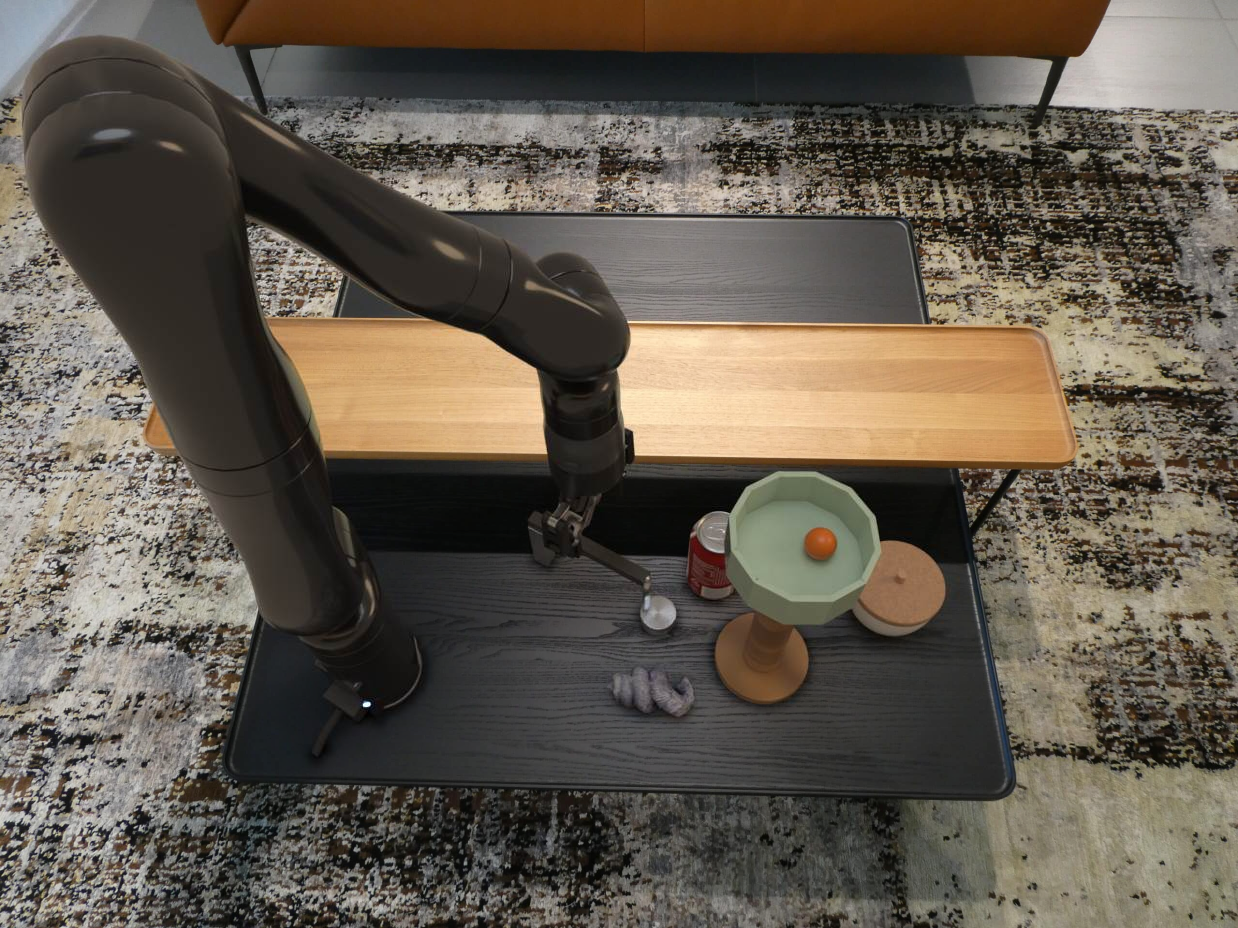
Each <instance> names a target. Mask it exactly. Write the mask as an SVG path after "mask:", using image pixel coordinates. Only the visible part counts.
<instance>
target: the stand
mask: <svg viewBox="0 0 1238 928" xmlns="http://www.w3.org/2000/svg"><path fill="white" fill-rule="evenodd" d="M809 662H810V661H809V652H808V648H807V645H806V642H805V640H804V639H803V637H802V635H801V634H800V633H799V631H798V630H797V628H795V625H788V624H781V623H779V622H777V621H775V620H773V619H772V618H770V617H768V616H766V615H764V614H762V613H760V612H758V611H756V610H754V612H748V613H744V614H741V615H739V616H737V617H734V618H733V619H732V620H730V621H729V622H728V623H727V624H725V626H724V627H723V628H722V630H721V631H720V633H719V634H718V637H717V640H716V643H715V649H714V665H715V668H716V669H715V670H716V671H717V674H718V677H719V678H720V680H721V682H722V683H723V684H724V686H725V687H726V688H727V689H728V690H729V691H730V692H731V693H732V694H733V695H735V696H736V697H738V698H740V699H742V700H743V701H746V702H749V703H753V704H756V705H772V704H777V703H780V702H783V701H785V700H787V699H789V698H790V697H791V696H793V695H794V694H795V693H796V692H797V691H798V690H799V689H800V687H801V686H802V684H803V682H804V680H805V678H806V676H807V674H808V669H809Z"/></svg>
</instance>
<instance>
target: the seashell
mask: <svg viewBox="0 0 1238 928" xmlns="http://www.w3.org/2000/svg"><path fill="white" fill-rule="evenodd" d="M668 675H669V674H668V673H667V671H666V669H665V668H663V667H660V666H654V667H651V668H649V670H648V668H647V667H646V666H644V665H641V664H638V665H635V666H633V667H631V670H630V671H628V672H627V673H625V672H616V673H614V675H613V676H612V681H611V682H610V683H609V684H607V689H609V690H610V692H612V695H613V698H614V699H615V700H616V701H617V702H620V703H621V704H622V705H623V707H626V708H628V709H629V708H637V710H638V711H640V712H641V713H644V714H649V713H652V712H653V711H655V710H656V709H657V708H659V709H662V710H663V711H664V712H666V713H667V714H669V715H671V716H673V717H676V718H679V717H682V716H683V715H684V714H686V713H687V712H689V710H690V709H691V707H692V706H694V701H695V696H694V689H693V685H692V683H691V682H690V680H689V678H688V677H687V676H683V677H681V679H680V680H679V683H678V684H677V685H675V687H674V688H673V686H672V685H671V682H670V681H669V676H668Z"/></svg>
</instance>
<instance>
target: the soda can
mask: <svg viewBox="0 0 1238 928" xmlns="http://www.w3.org/2000/svg"><path fill="white" fill-rule="evenodd" d="M730 513H731V512H730ZM730 513H729V512H726V511H720V510H718V511H711V512H709V513H707V514H705V515H704V516H702V517H701V518H700V519H699V520H698V521H697V522H696V523H695V524H694V526H693V527H692V529H691V532H690V534H689V535H690V536H689V545H688V552H687V560H686V561H687V562H686V568H685V569H686V571H685V576H686V577H685V578H686V582H687V584H688V586H689V588H690V589H691V590H692V592H693V593H694V594H696V595H697V596H699V597H701V598H703V599H705V600H712V601H717V600H722V599H725V598H728V597H729V596H731V595H732V594H733V593H734V592H735V591H737V590H736V589H735V587H734V586H733V585H732V583H731V582H730V580H729V579H728V577H727V576H726V568H725V551H724V539H725V534H726V528H727V523H728V518H729V515H730Z"/></svg>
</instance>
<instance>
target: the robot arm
mask: <svg viewBox="0 0 1238 928" xmlns="http://www.w3.org/2000/svg"><path fill="white" fill-rule="evenodd" d="M24 78H25V79H24V82H23V86H22V93H21V128H22V146H23V147H22V148H23V160H24V161H23V162H24V172H25V180H26V186H27V192H28V196H29V199H30V202H31V204H32V206H33V209H34V211H35V213H36V215H37V217H38V219H39V221H40V223H41V226H42V227H43V229H44V231H45V232H46V234H47V236H48V237H49V239H50V240H51V242H52V243H53V244H54V246H55V247H56V249H57V250H58V252H59V253H60V254H61V256H62V257H63V259H64V261H66V263H67V264H68V265H69V267H70V268H71V270H72V271H73V272H74V274H75V275H76V276H77V277H78V279H79V280H80V282H81V284H83V285H84V287H85V289H87V291H88V292H89V294H90V295H91V296H92V297H93V299H94V300H95V302H96V303H97V304H98V306H99V307H100V309H101V310H102V311H103V313H104V314H105V315H106V317H107V318H108V319H109V321H110V322H111V324H112V325H113V327H115V329H116V330H117V332H118V333H119V334H120V336H121V338H122V339H123V341H124V342H125V344H126V345H127V347H128V349H129V350H130V352H131V353H132V355H133V357H134V359H135V361H136V363H137V365H138V367H139V370H140V373H141V377H142V379H143V382H144V385H145V387H146V390H147V393H148V394H149V396H150V399H151V402H152V403H153V405H154V408H155V410H156V412H157V413H158V414H157V415H158V416H159V418H160V421H161V423H162V425H163V426H164V429H165V431H166V433H167V435H168V438H169V440H170V442H171V444H172V446H173V447H174V449H175V451H176V453H177V454H178V456H179V458H180V461H181V462H182V463H183V465H184V467H185V469H186V471H187V473H188V474H189V476H190V478H191V479H192V481H193V482H194V483H195V486H196V487H197V488H198V490H199V491H200V493H201V494H202V496H203V498H204V500H205V502H206V503H207V505H208V507H209V508H210V510H211V512H212V513H213V516H214V517H215V519H216V520H217V521H218V524H219V525H220V527H221V528H222V530H223V531H224V533H225V534H226V536H227V538H228V539H229V540H230V542H231V543H232V545H233V546H234V548H235V550H236V552H237V553H238V554H239V556H240V558H241V560H242V562H243V565H244V566H245V569H246V571H247V574H248V577H249V580H250V583H251V586H252V589H253V592H254V597H255V602H256V606H257V610H258V612H259V614H260V616H261V618H262V619H263V620H264V621H265V623H266V624H268V625H269V626H270V627H272V628H273V629H275V630H277V631H278V632H281V633H284V634H286V635H290V636H295V637H297V638H298V639H299V641H301V643H302V644H303V645H304V646H305V647H306V648H307V650H309V651H310V653H311V654H312V655H313V656H314V657H315V658H316V660H315V662H314V666H315V667H316V668H317V669H318V670H319V671H320V672H321V674H322V675H323V676H324V677H325V678H326V679H327V680H328V681H329V682H330V683H331V685H330V686H329V687H328V689H327V690H326V691H325V693H323V695H322V697H323V698H324V700H325V701H326V702H327V703H328V704H330V705H331V706H332V707H334V708H335V710H334V711H333V713H332V714H331V716H330V717H329V719H328V720H327V722H326V723H325V724H324V726H323V728H322V730H321V731H320V733H319V734H318V737H317V738H316V741H315V743H314V746H313V748H312V750H311V752H310V753H312V754H313V755H314V756H315V757H317V758H319V757H320V755H321V753H322V751H323V748H324V746H325V744H326V742H327V740H328V738H329V736H330V735H331V733H332V731H333V730H334V728H335V727H336V725H337V724H338V722H339V721H340V719H341V718H342V716H343V715H344V714H345V715H346V716H347V717H349V718H351V719H352V720H353V721H354V722H355V721H356V722H357V723H360V722H361V721H362V719H363V718H364V717H365V716H366V714H367V713H370V714H371V715H373V716H374V717H376V718H380V717H381V716H382V715H383V714H384V712H385V711H388V710H391V709H393V708H396V707H398V706H400V705H402V704H403V703H404V702H406V701H407V700H408V699H409V698H410V697H411V696H412V695H413V694H414V693H415V691H416V690H417V688H418V687H419V686H420V683H421V680H422V677H423V672H424V662H423V657H422V654H421V652H420V650H419V648H418V643H417V639H416V637H415V636H413V639H412V638H411V637H410V634H409V633H408V631H407V630H406V628H405V626H404V624H403V623H402V620H401V619H400V617H399V616H398V614H397V612H396V611H395V609H394V607H393V604H391V602H390V599H388V597H387V595H386V593H385V592H384V590H383V588H382V586H381V582H380V579H379V578H378V575H377V571H376V569H375V565H374V563H373V560H372V558H371V556H370V554H369V552H368V551H367V549H366V547H365V545H364V542H363V541H362V539H361V537H360V535H359V532H358V531H357V529H356V527H355V526H354V524H353V523H352V521H351V520H350V518H349V516H347V515H346V514H345V513H344V512H343V511H342V510H340V509H339V508H337V507H336V506H333V501H332V500H333V499H332V493H331V485H330V478H329V472H328V466H327V462H326V455H325V451H324V446H323V441H322V436H321V432H320V428H319V425H318V421H317V418H316V414H315V413H314V409H313V405H312V403H311V399H310V396H309V393H308V391H307V389H306V386H305V383H304V381H303V379H302V377H301V374H300V373H299V371H298V369H297V367H296V365H295V363H294V362H293V360H292V358H291V357H290V355H289V354H288V353H287V351H286V350H285V348H284V347H283V346H282V345H281V344H280V342H279V341H278V340H277V338H276V337H275V336H274V334H273V332H272V330H271V328H270V326H269V324H268V322H267V319H266V316H265V312H264V309H263V307H262V303H261V297H260V293H259V288H258V282H257V279H256V275H255V270H254V263H253V259H252V253H251V246H250V242H249V235H248V229H247V221H249V222H252V223H253V224H257V225H259V226H261V227H263V228H266V229H267V230H270V231H272V232H274V233H276V234H278V235H280V236H282V237H283V238H285V239H287V240H288V241H291V242H292V243H295V244H297V245H298V246H300V247H301V248H303V249H305V250H307V251H308V252H309V253H311V254H313V255H315V256H316V257H318V258H319V259H321V260H323V261H324V262H325V263H327V264H329V265H330V266H331V267H333V268H335V270H337V271H339V272H340V273H341V274H343V275H344V276H346V277H347V278H349V279H350V280H352V281H353V282H354V283H356V284H357V285H359V286H361V287H362V288H364V289H365V290H366V291H369V293H371V294H373V295H374V296H376V297H378V298H380V299H382V300H383V301H385V302H387V303H389V304H391V305H393V306H395V307H396V308H398V309H401V310H403V311H405V312H407V313H410V314H412V315H414V316H417V317H419V318H422V319H426V320H428V321H432V322H434V323H435V322H436V323H439V324H442V325H445V326H449V327H451V328H453V329H454V328H455V329H458V330H461V331H464V332H468V333H471V334H475V335H479V336H482V337H483V338H485V339H487V340H488V341H490V342H492V343H493V344H494V345H496V346H497V347H499V348H500V349H502V350H503V351H505V352H506V353H508V354H509V355H512V356H513V357H515V358H517V359H518V360H520V361H522V362H524V363H526V364H527V365H528V366H530V367H532V368H533V369H535V370H536V374H537V379H538V384H539V395H540V402H541V408H542V416H543V420H542V431H543V438H544V444H545V448H546V456H547V461H548V467H549V472H550V475H551V477H552V479H553V481H554V483H555V484H556V486H557V487H558V489H559V490H560V491H559V492H560V493H559V497H558V506H557V508H556V509H555V511H554V512H553V513H552V512H550V511H548V510H546V511H544V512H543V513H542V518H541V525H542V533H543V542H544V547H546V548H547V549H550V550H552V551H554V552H555V554H558V555H559V556H561V557H562V558H567V557H569V558H570V559H572V560H574V559H575V558H576V559H580V558H581V556H583V555H582V553H583V552H582V544H581V538H580V537H581V535H582V534H583V530H584V529H585V528H588V526H590V524H591V521H592V518H593V515H594V512H595V509H596V505H598V504H599V503H600V502H601V498H602V495H603V494H604V493H605V494H606V495H608V496H609V497H612V498H613V499H616V500H619V501H620V500H621V498H622V497H623V496H624V479H625V478H626V476H627V472H628V471H627V469H626V466H627V465H632V464H633V463H634V462H635V457H636V452H635V438H634V431H633V430H631V429H629V428H627V427H625V419H624V414H623V411H622V400H621V399H622V397H621V396H622V395H621V380H620V375H619V372H618V369H619V368H620V367H621V365H622V364H623V363H624V362H625V360H626V359H627V356H628V354H629V351H630V347H631V343H632V334H631V329H630V324H629V322H628V320H627V317H626V316H625V314H624V312H623V310H622V309H621V306H619V304H618V303H617V301H616V299H615V297H614V296H613V294H612V292H611V291H610V289H609V287H608V286H607V284H606V283H605V281H604V279H603V277H602V276H601V274H600V273H599V271H598V270H597V268H596V267H595V265H593V264H592V262H590V261H588V260H587V259H586V258H584V257H582V255H581V256H580V255H579V254H577V253H574V252H569V251H555V252H550V253H547V254H545V255H543V256H540V257H539V258H538V259H536V260H535V261H534V260H533V259H532V258H531V257H530V255H529V254H528V253H527V252H526V251H525V250H524V249H523V248H522V247H520V246H519V245H517V244H516V243H514V242H512V241H510V240H509V239H507V238H505V237H502V236H500V235H498V234H496V233H493V232H491V231H488V230H486V229H484V228H482V227H480V226H477V225H474V224H473V223H470V222H467V221H465V220H463V219H461V218H458V217H456V216H454V215H451V214H448V213H446V212H444V211H441V210H439V209H437V208H434V207H432V206H430V205H428V204H427V203H424V202H421V201H419V200H418V199H415V198H413V197H411V196H409V195H408V194H405V193H403V192H401V191H399V190H397V189H395V188H393V187H391V186H389V185H387V184H385V183H383V182H381V181H380V180H378V179H375V178H373V177H372V176H370V175H368V174H366V173H364V172H363V171H361V170H359V169H357V168H355V167H353V166H351V165H350V164H348V163H346V162H344V161H342V160H340V159H339V158H337V157H335V156H333V155H332V154H330V153H328V152H327V151H325V150H324V149H322V148H320V147H318V146H317V145H315V144H313V143H311V142H309V141H308V140H306V139H305V138H303V137H301V136H299V135H298V134H296V133H294V132H293V131H291V130H290V129H288V128H286V127H284V126H282V125H281V124H279V123H278V122H276V121H274V120H273V119H270V118H269V117H267V116H266V115H264V114H263V113H261V112H259V110H257V109H255V108H254V107H252V106H251V105H249V104H247V103H246V102H245V101H243V100H241V99H239V98H238V97H237V96H235V95H234V94H232V93H230V92H229V91H228V90H226V89H225V88H223V87H221V86H220V85H218V84H217V83H216V82H214V81H213V80H210V79H209V78H207V77H206V76H204V75H203V74H201V73H199V72H198V71H197V70H195V69H193V68H192V67H190V66H189V65H187V64H185V63H183V62H182V61H180V60H178V59H177V58H175V57H173V56H172V55H169V54H168V53H166V52H163V51H162V50H160V49H158V48H156V47H153V46H151V45H149V44H146V43H144V42H141V41H137V40H134V39H130V38H127V37H123V36H115V35H107V34H90V35H79V36H76V37H73V38H69V39H66V40H65V39H64V40H63V41H60V42H58V43H57V44H54V45H53V46H51V47H49V48H48V49H46V50H44V51H43V53H42V54H41V55H39V57H37V59H36V60H34V61H33V63H32V65H31V67H30V69H29V70H28V73H27V74H26V77H24ZM246 220H247V221H246ZM580 512H581V513H582V512H583V515H582V516H580V515H579V514H578V513H580ZM571 527H573V528H574V529H573V531H574V532H571V531H569V529H571ZM413 640H414V641H413Z"/></svg>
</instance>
